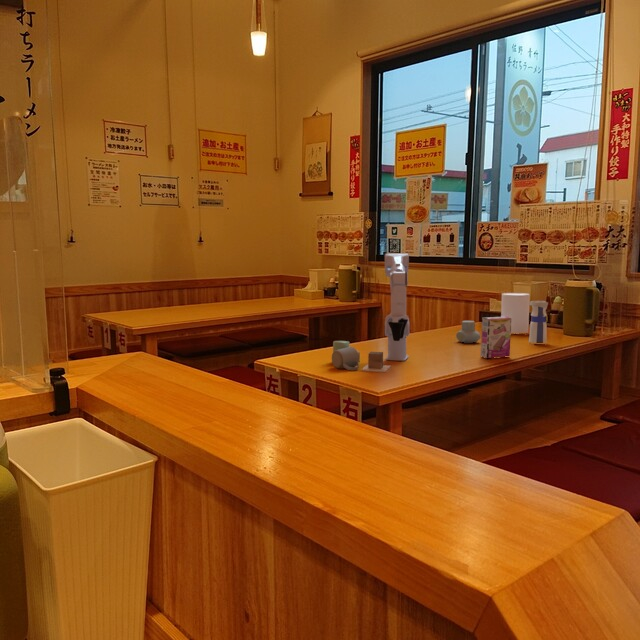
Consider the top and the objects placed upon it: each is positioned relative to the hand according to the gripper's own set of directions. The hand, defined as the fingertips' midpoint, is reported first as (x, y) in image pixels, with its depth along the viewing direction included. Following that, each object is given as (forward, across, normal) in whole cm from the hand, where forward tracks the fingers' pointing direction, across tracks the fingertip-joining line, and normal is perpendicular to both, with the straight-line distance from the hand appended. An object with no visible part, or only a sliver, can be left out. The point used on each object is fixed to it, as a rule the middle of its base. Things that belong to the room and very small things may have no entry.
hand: (398, 339), depth 224 cm
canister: (+9, -99, +43) cm, 108 cm away
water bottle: (+10, -68, +53) cm, 86 cm away
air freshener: (+10, -63, +22) cm, 67 cm away
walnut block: (+10, +6, -7) cm, 14 cm away
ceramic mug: (+11, +8, -18) cm, 22 cm away
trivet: (+10, +6, -7) cm, 14 cm away
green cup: (+10, -3, -23) cm, 26 cm away
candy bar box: (+10, -28, +35) cm, 46 cm away
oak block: (+10, -6, -19) cm, 22 cm away
